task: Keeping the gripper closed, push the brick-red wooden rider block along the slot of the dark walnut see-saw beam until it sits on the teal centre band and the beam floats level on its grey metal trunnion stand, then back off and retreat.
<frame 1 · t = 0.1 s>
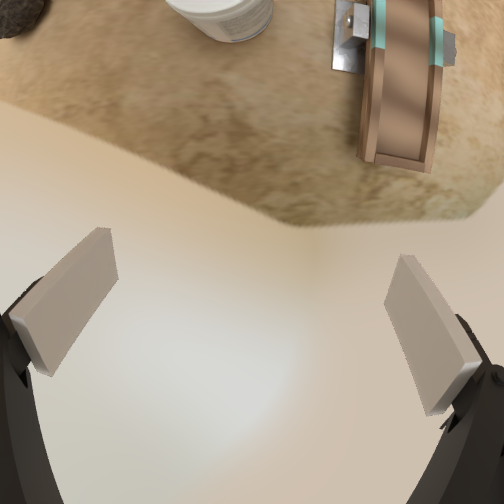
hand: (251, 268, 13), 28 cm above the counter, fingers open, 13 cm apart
stand: (382, 44, 29), on the counter
rock: (33, 8, 27), on the counter
supplement tub: (233, 12, 29), on the counter
beam: (398, 37, 25), point 6 cm above the counter, hinge at -1.6°, touching rider
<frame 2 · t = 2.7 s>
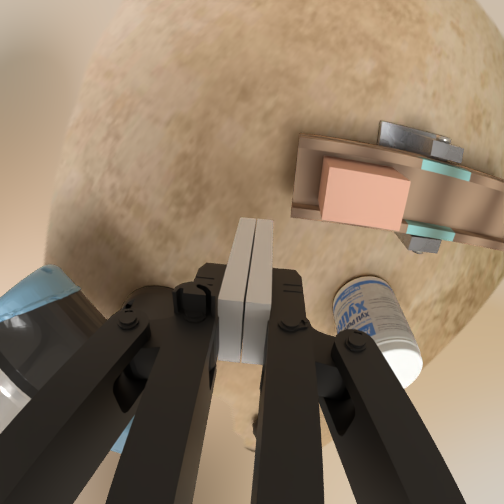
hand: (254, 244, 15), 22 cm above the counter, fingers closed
stand: (407, 178, 35), on the counter
rider: (355, 183, 29), point 7 cm above the counter, touching beam
supplement tub: (362, 300, 44), on the counter
beam: (427, 192, 30), point 6 cm above the counter, hinge at -4.1°, touching rider
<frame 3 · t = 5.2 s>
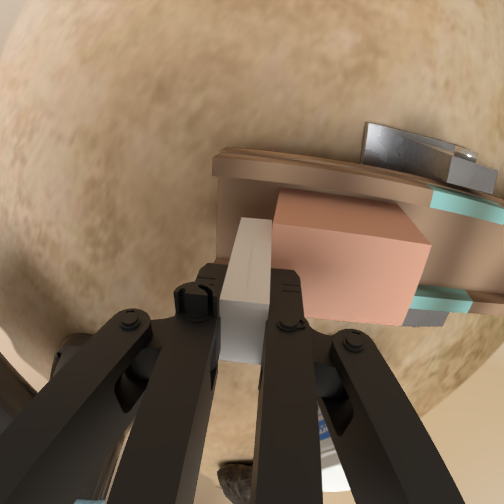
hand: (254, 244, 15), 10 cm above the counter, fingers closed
stand: (406, 207, 24), on the counter
rock: (249, 466, 49), on the counter
rider: (335, 231, 18), point 7 cm above the counter, touching beam, gripper
supplement tub: (337, 361, 33), on the counter
beam: (435, 235, 19), point 6 cm above the counter, hinge at -4.3°, touching rider
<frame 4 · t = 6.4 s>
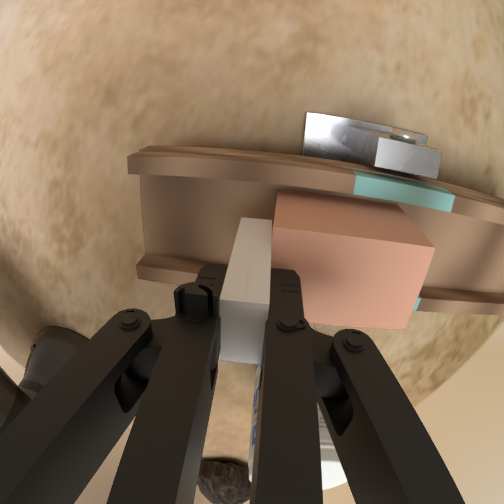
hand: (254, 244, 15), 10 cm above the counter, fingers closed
stand: (356, 199, 24), on the counter
rock: (225, 463, 49), on the counter
rider: (334, 232, 18), point 8 cm above the counter, touching gripper
supplement tub: (298, 359, 33), on the counter
beam: (377, 226, 19), point 6 cm above the counter, hinge at -2.8°
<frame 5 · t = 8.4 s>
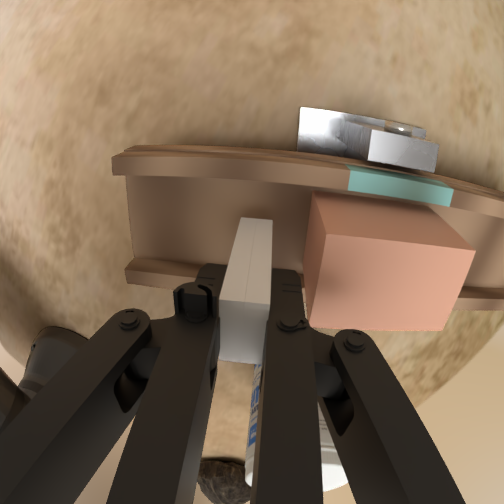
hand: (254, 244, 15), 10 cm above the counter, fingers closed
stand: (353, 195, 24), on the counter
rock: (227, 463, 49), on the counter
rider: (367, 235, 17), point 8 cm above the counter, touching beam
supplement tub: (297, 359, 33), on the counter
beam: (373, 223, 19), point 6 cm above the counter, hinge at -0.6°, touching rider
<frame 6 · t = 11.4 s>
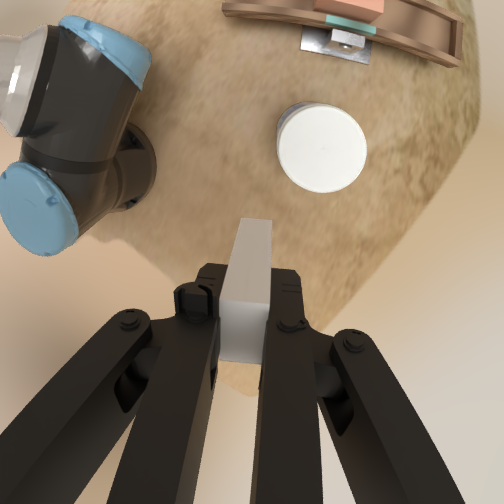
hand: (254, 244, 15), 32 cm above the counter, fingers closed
stand: (339, 18, 33), on the counter
rider: (343, 2, 26), point 8 cm above the counter, touching beam
supplement tub: (308, 133, 42), on the counter
beam: (347, 8, 28), point 6 cm above the counter, hinge at -0.5°, touching rider
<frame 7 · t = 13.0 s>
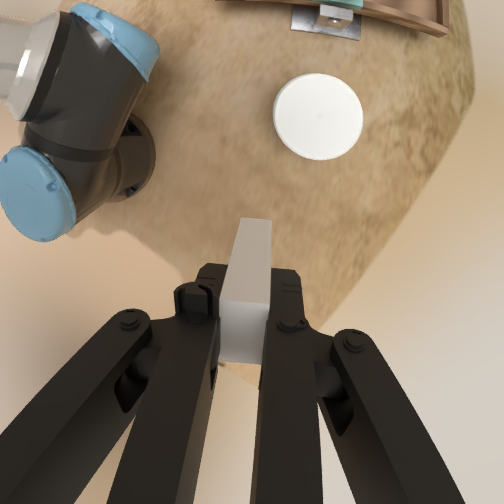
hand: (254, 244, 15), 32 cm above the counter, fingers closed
supplement tub: (305, 111, 41), on the counter
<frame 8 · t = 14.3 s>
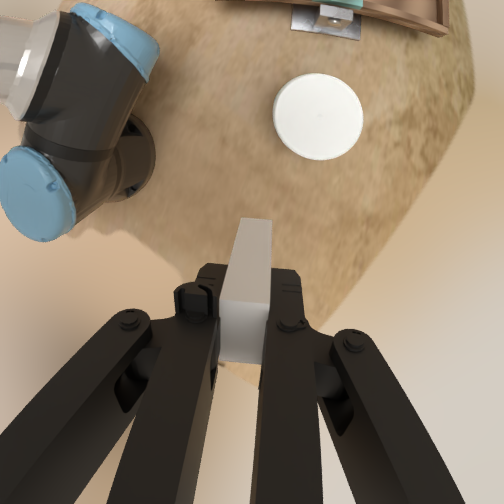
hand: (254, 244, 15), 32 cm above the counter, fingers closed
supplement tub: (305, 111, 41), on the counter
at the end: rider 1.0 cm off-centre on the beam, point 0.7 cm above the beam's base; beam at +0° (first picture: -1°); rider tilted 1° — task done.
